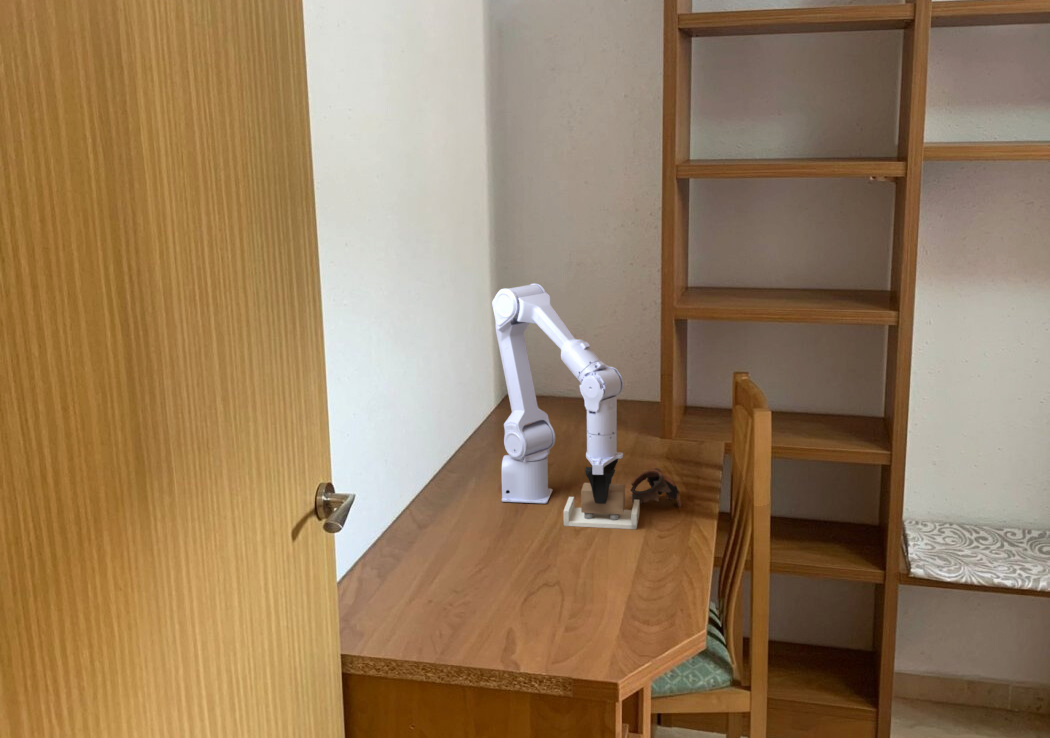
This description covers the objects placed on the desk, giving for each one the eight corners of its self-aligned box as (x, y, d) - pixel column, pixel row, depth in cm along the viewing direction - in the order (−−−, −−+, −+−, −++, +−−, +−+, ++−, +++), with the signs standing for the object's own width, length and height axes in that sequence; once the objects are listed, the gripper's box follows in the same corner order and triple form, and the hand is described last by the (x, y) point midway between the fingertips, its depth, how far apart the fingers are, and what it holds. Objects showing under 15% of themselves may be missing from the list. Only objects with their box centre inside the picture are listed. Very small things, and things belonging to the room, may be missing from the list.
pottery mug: (687, 515, 205) (669, 484, 202) (643, 532, 208) (625, 502, 205) (681, 480, 216) (664, 451, 213) (640, 498, 218) (623, 468, 215)
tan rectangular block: (581, 512, 200) (581, 490, 199) (584, 504, 204) (584, 482, 203) (622, 514, 199) (622, 492, 198) (624, 506, 203) (624, 484, 202)
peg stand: (563, 525, 199) (563, 511, 199) (569, 510, 207) (569, 496, 206) (636, 529, 197) (636, 514, 196) (639, 514, 205) (639, 499, 204)
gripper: (619, 442, 190) (619, 512, 193) (625, 421, 204) (625, 486, 207) (581, 441, 192) (581, 511, 195) (590, 420, 205) (590, 485, 209)
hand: (602, 498), depth 201 cm, fingers closed on tan rectangular block, 4 cm apart
